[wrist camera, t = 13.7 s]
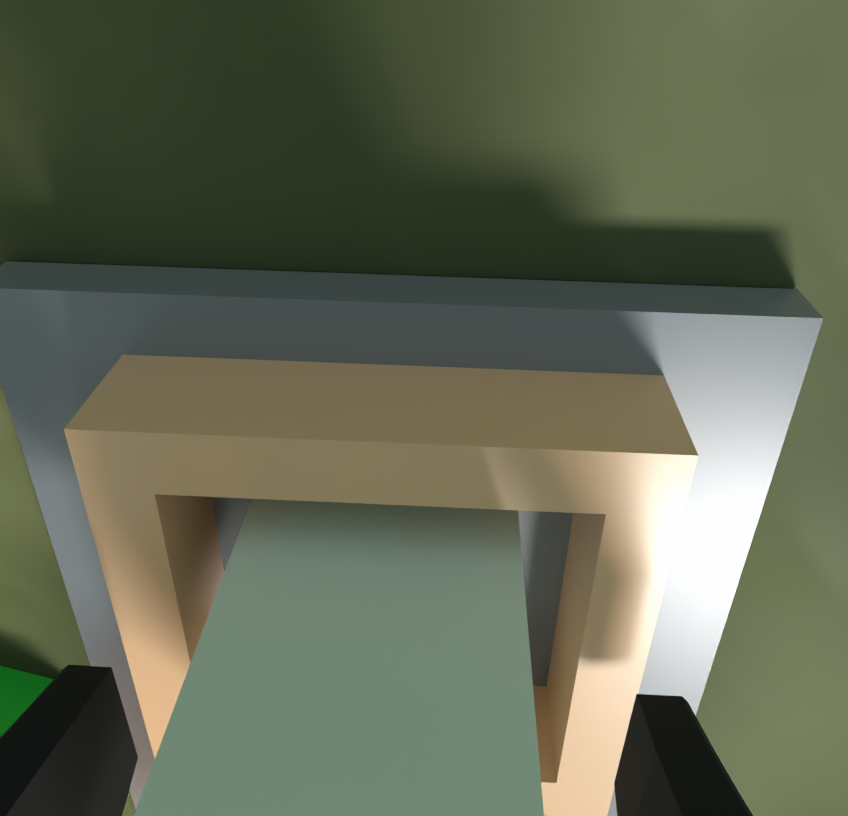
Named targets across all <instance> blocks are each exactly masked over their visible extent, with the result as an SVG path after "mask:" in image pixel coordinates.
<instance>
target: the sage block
mask: <svg viewBox="0 0 848 816" xmlns="http://www.w3.org/2000/svg"><path fill="white" fill-rule="evenodd" d="M134 816H544V810H543V799H542V787H541V775H540V763H539V751H538V740H537V728H536V716H535V704H534V693H533V681H532V669H531V657H530V645H529V634H528V622H527V610H526V598H525V587H524V575H523V563H522V551H521V540H520V528H519V516H518V510H498V509H475V508H452V507H430V506H407V505H384V504H362V503H339V502H316V501H294V500H271V499H251V502H250V504H249V507H248V510H247V512H246V515H245V518H244V520H243V523H242V526H241V529H240V531H239V534H238V537H237V539H236V542H235V545H234V547H233V550H232V553H231V555H230V558H229V561H228V564H227V566H226V569H225V572H224V574H223V577H222V580H221V582H220V585H219V588H218V590H217V593H216V596H215V599H214V601H213V604H212V607H211V609H210V612H209V615H208V617H207V620H206V623H205V625H204V628H203V631H202V634H201V636H200V639H199V642H198V644H197V647H196V650H195V652H194V655H193V658H192V660H191V663H190V666H189V669H188V671H187V674H186V677H185V679H184V682H183V685H182V687H181V690H180V693H179V695H178V698H177V701H176V704H175V706H174V709H173V712H172V714H171V717H170V720H169V722H168V725H167V728H166V730H165V733H164V736H163V739H162V741H161V744H160V747H159V749H158V752H157V755H156V757H155V760H154V763H153V765H152V768H151V771H150V774H149V776H148V779H147V782H146V784H145V787H144V790H143V792H142V795H141V798H140V800H139V803H138V806H137V809H136V811H135V814H134Z"/></svg>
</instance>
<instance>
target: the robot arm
mask: <svg viewBox="0 0 848 816" xmlns="http://www.w3.org/2000/svg"><path fill="white" fill-rule="evenodd" d="M137 760H138V755H137V752H136V749H135V745H134V742H133V738H132V735H131V732H130V728H129V725H128V721H127V718H126V715H125V711H124V708H123V704H122V701H121V698H120V694H119V691H118V687H117V684H116V681H115V677H114V674H113V670H112V667H99V666H80V665H68V666H66V667H65V668H64V669H63V670H62V671H61V672H60V673H59V674H58V675H57V676H56V677H55V678H54V679H53V681H52V682H51V683H50V684H49V685H48V686H47V687H46V688H45V689H44V690H43V691H42V693H41V694H40V695H39V696H38V697H37V698H36V699H35V700H34V701H33V702H32V703H31V705H30V706H29V707H28V708H27V709H26V710H25V711H24V712H23V713H22V714H21V715H20V717H19V718H18V719H17V720H16V721H15V722H14V723H13V724H12V725H11V726H10V727H9V728H8V730H7V731H6V732H5V733H4V734H3V735H2V736H1V737H0V816H122V813H123V809H124V806H125V803H126V799H127V796H128V792H129V789H130V785H131V781H132V778H133V774H134V770H135V767H136V763H137ZM614 788H615V798H616V808H617V816H753V815H752V813H751V812H750V810H749V808H748V807H747V805H746V804H745V802H744V800H743V799H742V797H741V795H740V793H739V792H738V790H737V788H736V787H735V785H734V783H733V782H732V780H731V778H730V777H729V775H728V773H727V772H726V770H725V768H724V766H723V765H722V763H721V761H720V759H719V758H718V756H717V754H716V752H715V751H714V749H713V747H712V745H711V743H710V742H709V740H708V738H707V736H706V734H705V733H704V731H703V729H702V727H701V725H700V723H699V722H698V720H697V718H696V716H695V714H694V712H693V710H692V708H691V706H690V705H689V703H688V702H687V701H686V700H685V699H684V698H683V697H682V696H667V695H648V694H636V698H635V702H634V706H633V710H632V714H631V718H630V722H629V726H628V730H627V734H626V738H625V742H624V746H623V750H622V754H621V758H620V762H619V766H618V770H617V774H616V778H615V782H614Z"/></svg>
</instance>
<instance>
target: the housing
mask: <svg viewBox="0 0 848 816" xmlns="http://www.w3.org/2000/svg"><path fill="white" fill-rule="evenodd" d="M822 321H823V317H822V316H821V315H820V314H819V313H818V312H817V311H816V310H815V308H814V307H813V306H812V305H811V304H810V303H809V302H808V301H807V299H806V298H805V297H804V296H803V295H802V294H801V293H800V292H799V290H798V289H781V288H752V287H724V286H695V285H667V284H638V283H610V282H581V281H553V280H524V279H496V278H467V277H439V276H410V275H382V274H353V273H325V272H296V271H268V270H239V269H210V268H182V267H153V266H125V265H97V264H68V263H39V262H11V261H6V262H5V263H3V264H2V265H1V266H0V380H1V384H2V387H3V390H4V393H5V396H6V399H7V403H8V406H9V409H10V412H11V415H12V418H13V422H14V425H15V428H16V431H17V434H18V437H19V441H20V444H21V447H22V450H23V453H24V456H25V460H26V463H27V466H28V469H29V472H30V476H31V479H32V482H33V485H34V488H35V491H36V495H37V498H38V501H39V504H40V507H41V510H42V514H43V517H44V520H45V523H46V526H47V529H48V533H49V536H50V539H51V542H52V545H53V549H54V552H55V555H56V558H57V561H58V564H59V568H60V571H61V574H62V577H63V580H64V583H65V587H66V590H67V593H68V596H69V599H70V602H71V606H72V609H73V612H74V615H75V618H76V621H77V625H78V628H79V631H80V634H81V637H82V641H83V644H84V647H85V650H86V653H87V656H88V660H89V663H90V666H99V667H112V670H113V674H114V677H115V681H116V684H117V687H118V691H119V694H120V698H121V701H122V704H123V708H124V711H125V715H126V718H127V721H128V725H129V728H130V732H131V735H132V738H133V742H134V745H135V749H136V752H137V755H138V760H137V763H136V767H135V770H134V774H133V778H132V781H131V785H130V789H129V790H130V793H131V796H132V799H133V802H134V806H135V809H137V806H138V803H139V800H140V798H141V795H142V792H143V790H144V787H145V784H146V782H147V779H148V776H149V774H150V771H151V768H152V765H153V763H154V760H155V757H156V755H157V752H158V749H159V747H160V744H161V741H162V739H163V736H164V733H165V730H166V728H167V725H168V722H169V720H170V717H171V714H172V712H173V709H174V706H175V704H176V701H177V698H178V695H179V693H180V690H181V687H182V685H183V682H184V679H185V677H186V674H187V671H188V669H189V666H190V663H191V660H192V658H193V655H194V652H195V650H196V647H197V644H198V642H199V639H200V636H201V634H202V631H203V628H204V625H205V623H206V620H207V617H208V615H209V612H210V609H211V607H212V604H213V601H214V599H215V596H216V593H217V590H218V588H219V585H220V582H221V580H222V577H223V574H224V572H225V569H226V566H227V564H228V561H229V558H230V555H231V553H232V550H233V547H234V545H235V542H236V539H237V537H238V534H239V531H240V529H241V526H242V523H243V520H244V518H245V515H246V512H247V510H248V507H249V504H250V502H251V499H271V500H294V501H316V502H339V503H362V504H384V505H407V506H430V507H452V508H475V509H498V510H518V516H519V528H520V540H521V551H522V563H523V575H524V587H525V598H526V610H527V622H528V634H529V645H530V657H531V669H532V681H533V693H534V704H535V716H536V728H537V740H538V751H539V763H540V775H541V787H542V799H543V810H544V816H617V808H616V798H615V788H614V782H615V778H616V774H617V770H618V766H619V762H620V758H621V754H622V750H623V746H624V742H625V738H626V734H627V730H628V726H629V722H630V718H631V714H632V710H633V706H634V702H635V698H636V694H648V695H667V696H682V697H683V698H684V699H685V700H686V701H687V702H688V703H689V705H690V706H691V708H692V710H693V712H694V714H695V716H696V713H697V710H698V707H699V704H700V701H701V697H702V694H703V691H704V688H705V685H706V682H707V679H708V676H709V673H710V669H711V666H712V663H713V660H714V657H715V654H716V651H717V648H718V644H719V641H720V638H721V635H722V632H723V629H724V626H725V623H726V620H727V616H728V613H729V610H730V607H731V604H732V601H733V598H734V595H735V592H736V588H737V585H738V582H739V579H740V576H741V573H742V570H743V567H744V564H745V560H746V557H747V554H748V551H749V548H750V545H751V542H752V539H753V535H754V532H755V529H756V526H757V523H758V520H759V517H760V514H761V511H762V507H763V504H764V501H765V498H766V495H767V492H768V489H769V486H770V483H771V479H772V476H773V473H774V470H775V467H776V464H777V461H778V458H779V455H780V451H781V448H782V445H783V442H784V439H785V436H786V433H787V430H788V426H789V423H790V420H791V417H792V414H793V411H794V408H795V405H796V402H797V398H798V395H799V392H800V389H801V386H802V383H803V380H804V377H805V374H806V370H807V367H808V364H809V361H810V358H811V355H812V352H813V349H814V346H815V342H816V339H817V336H818V333H819V330H820V327H821V324H822Z"/></svg>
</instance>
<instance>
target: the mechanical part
mask: <svg viewBox="0 0 848 816" xmlns="http://www.w3.org/2000/svg"><path fill="white" fill-rule="evenodd" d="M52 681H53V679H51V678H47V677H43V676H39V675H35V674H31V673H28V672H24V671H20V670H16V669H12V668H9V667H5V666H1V665H0V737H1V736H2V735H3V734H4V733H5V732H6V731H7V730H8V728H9V727H10V726H11V725H12V724H13V723H14V722H15V721H16V720H17V719H18V718H19V717H20V715H21V714H22V713H23V712H24V711H25V710H26V709H27V708H28V707H29V706H30V705H31V703H32V702H33V701H34V700H35V699H36V698H37V697H38V696H39V695H40V694H41V693H42V691H43V690H44V689H45V688H46V687H47V686H48V685H49V684H50V683H51V682H52Z"/></svg>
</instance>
